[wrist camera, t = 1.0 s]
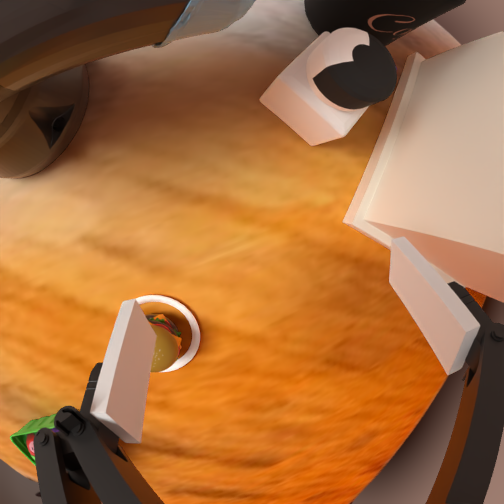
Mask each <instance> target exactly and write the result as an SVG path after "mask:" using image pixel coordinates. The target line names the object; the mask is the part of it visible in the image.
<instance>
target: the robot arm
mask: <svg viewBox="0 0 504 504" xmlns="http://www.w3.org/2000/svg"><path fill="white" fill-rule="evenodd" d="M254 2H255V0H0V178H23V177H28V176H30V175H33V174H35V173H37V172H39V171H41V170H43V169H44V168H46V167H47V166H49V165H50V164H51V163H52V162H53V161H54V160H56V159H57V158H58V157H59V156H60V154H61V153H62V152H63V151H64V150H65V149H66V147H67V146H68V145H69V143H70V142H71V140H72V139H73V137H74V136H75V134H76V132H77V130H78V128H79V126H80V124H81V121H82V119H83V116H84V113H85V110H86V106H87V102H88V95H89V78H88V73H87V69H86V66H85V64H87V63H90V62H93V61H96V60H99V59H102V58H105V57H109V56H112V55H115V54H119V53H122V52H126V51H130V50H133V49H137V48H141V47H145V46H150V45H152V46H153V47H154V48H159V47H163V46H165V45H167V44H169V43H171V42H172V41H174V40H178V39H182V38H187V37H192V36H197V35H203V34H209V33H214V32H218V31H221V30H224V29H226V28H228V27H229V26H230V25H231V24H233V23H234V22H235V21H237V20H239V19H240V18H242V17H243V16H244V15H245V14H246V12H247V11H248V10H249V9H250V8H251V6H252V5H253V3H254ZM389 283H390V284H391V286H392V287H393V289H394V290H395V292H396V293H397V295H398V296H399V298H400V299H401V301H402V302H403V304H404V305H405V307H406V308H407V310H408V311H409V313H410V314H411V316H412V317H413V319H414V320H415V322H416V324H417V325H418V327H419V328H420V330H421V332H422V333H423V335H424V336H425V338H426V340H427V341H428V343H429V344H430V346H431V348H432V349H433V351H434V353H435V354H436V356H437V358H438V360H439V361H440V363H441V365H442V366H443V368H444V370H445V372H446V373H447V375H449V374H451V373H453V372H456V371H458V370H460V369H461V368H462V366H463V364H464V362H465V360H466V362H467V363H468V365H469V367H468V369H467V371H466V373H465V375H464V377H463V379H462V380H463V381H464V380H465V385H464V389H463V394H462V398H461V402H460V407H459V410H458V414H457V418H456V422H455V425H454V429H453V432H452V435H451V439H450V442H449V445H448V448H447V451H446V454H445V457H444V460H443V463H442V465H441V468H440V471H439V473H438V476H437V478H436V481H435V484H434V486H433V488H432V490H431V493H430V495H429V498H428V500H427V502H426V504H483V502H484V499H485V496H486V493H487V490H488V487H489V484H490V480H491V477H492V473H493V470H494V467H495V462H496V459H497V455H498V451H499V446H500V442H501V437H502V432H503V427H504V325H502V324H500V323H493V322H492V321H491V319H490V318H489V317H488V316H487V314H486V313H485V312H484V311H483V309H482V308H481V307H480V306H479V305H478V303H477V302H476V301H475V300H474V299H473V297H472V296H471V295H470V294H469V293H468V292H467V290H466V289H465V288H464V287H463V286H461V285H460V284H458V283H456V282H455V281H453V282H450V283H446V282H445V281H444V279H443V278H442V277H441V276H440V275H439V274H438V273H437V271H436V270H435V269H434V268H433V267H432V266H431V265H430V264H429V262H428V261H427V260H426V259H425V258H424V257H423V256H422V255H421V254H420V253H419V252H418V250H417V249H416V248H415V247H414V246H413V245H412V244H411V243H410V242H409V241H408V240H407V239H406V238H405V237H404V236H403V237H399V238H395V239H391V259H390V276H389ZM156 336H157V335H156V334H155V332H154V330H153V329H152V327H151V325H150V323H149V322H148V320H147V318H146V317H145V315H144V313H143V311H142V310H141V308H140V306H139V304H138V302H137V301H136V299H132V300H127V301H123V302H122V305H121V308H120V311H119V314H118V317H117V320H116V323H115V326H114V329H113V332H112V335H111V338H110V341H109V345H108V348H107V351H106V354H105V358H104V361H103V363H97V364H96V365H95V367H94V368H93V370H92V371H91V374H90V377H89V383H88V384H87V387H86V389H87V390H86V391H85V395H84V398H83V402H82V406H81V409H80V412H79V411H78V410H77V409H75V408H74V407H72V406H65V407H63V408H61V409H60V410H59V411H58V412H57V414H56V416H55V418H54V427H55V428H56V429H58V430H59V431H58V432H53V431H52V430H51V429H49V428H46V427H45V428H41V429H40V430H38V431H37V433H36V434H35V436H34V440H33V445H34V454H35V462H36V469H37V476H38V482H39V487H40V493H41V498H42V502H43V504H164V503H163V501H162V500H161V499H160V498H159V497H158V495H157V494H156V493H155V492H154V491H153V489H152V488H151V487H150V486H149V484H148V483H147V482H146V480H145V479H144V478H143V477H142V475H141V474H140V473H139V471H138V470H137V469H136V467H135V466H134V464H133V463H132V462H131V460H130V459H129V457H128V456H127V455H126V453H125V452H124V450H123V449H122V447H121V446H120V445H119V444H118V441H119V438H120V439H121V440H123V441H124V442H125V443H141V436H142V428H143V420H144V412H145V405H146V397H147V391H148V384H149V377H150V371H151V365H152V359H153V353H154V347H155V342H156ZM465 378H466V379H465ZM101 502H102V503H101Z"/></svg>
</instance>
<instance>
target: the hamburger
mask: <svg viewBox="0 0 504 504" xmlns="http://www.w3.org/2000/svg"><path fill="white" fill-rule="evenodd" d="M136 301H137V302H138V304H139V305H140V304H143V303H146V302H162V303H167V304H169V305H171V306H174V307H175V308H177V309H178V310H180V311H181V312H182V313H183V314H184V315H185V317H186V318H187V320H188V321H189V324H190V326H191V330H192V341H191V345H190V347H189V349H188V351H187V352H186V353H185V355H183V356H182V357H181V358H180V359H178V358H177V357H179V354H180V349H181V348H182V347H181V345H180V343H181V340H182V338H181V337H180V335H181V332H178V329H177V327H176V326H175V324H174V323H173V322H172V321H171V320H169V319H168V318H167V317H165V316H164V315H163V314H160V315H159V314H147V315H145V317H146V318H147V320H148V322H149V323H150V325H151V327H152V329H153V330H154V332H155V334H156V335H157V336H156V342H155V347H154V353H153V359H152V365H151V371H150V372H168V371H173V370H176V369H179V368H180V367H182V366H184V365H186V364H187V363H188V362H189V361H190V360H191V359H192V358H193V357H194V355H195V354H196V352H197V350H198V347H199V343H200V330H199V326H198V323H197V321H196V319H195V317H194V316H193V314H192V313H191V312H190V311H189V310H188V309H187V308H186V307H185V306H184V305H183V304H181V303H180V302H178V301H176V300H174V299H172V298H169V297H166V296H161V295H147V296H142V297H139V298H136ZM177 359H178V360H177Z"/></svg>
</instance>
